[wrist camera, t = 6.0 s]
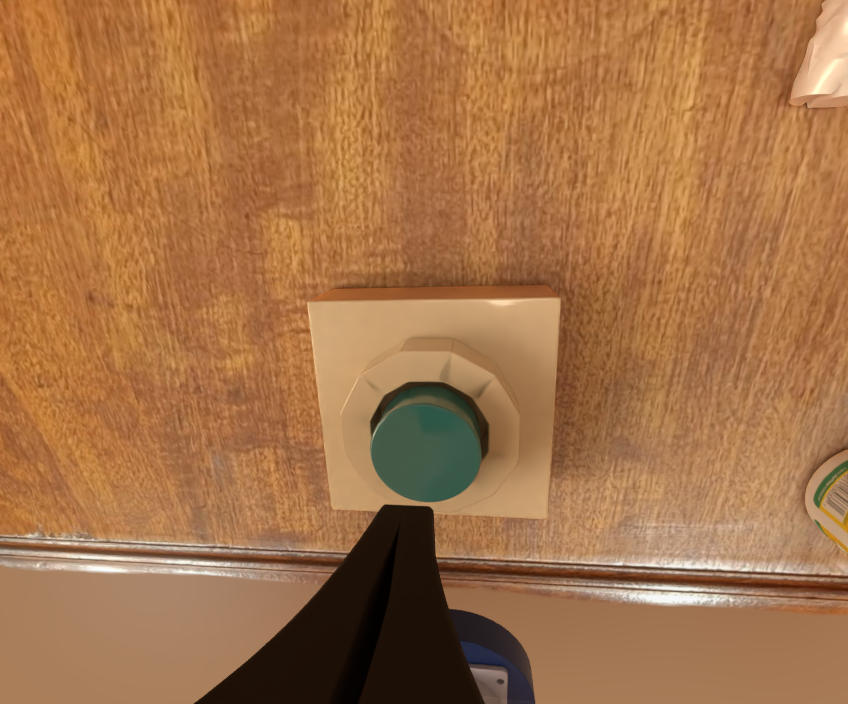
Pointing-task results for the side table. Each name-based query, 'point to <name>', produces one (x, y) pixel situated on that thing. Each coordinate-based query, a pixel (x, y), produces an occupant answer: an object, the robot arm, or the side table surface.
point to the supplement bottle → (830, 499)
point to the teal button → (427, 444)
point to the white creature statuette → (825, 61)
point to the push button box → (441, 385)
